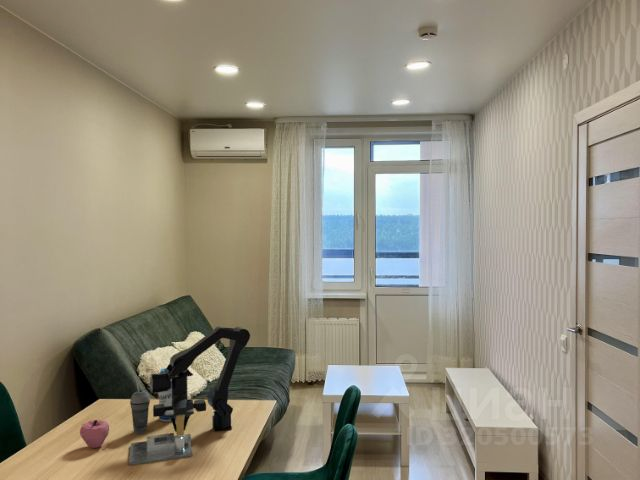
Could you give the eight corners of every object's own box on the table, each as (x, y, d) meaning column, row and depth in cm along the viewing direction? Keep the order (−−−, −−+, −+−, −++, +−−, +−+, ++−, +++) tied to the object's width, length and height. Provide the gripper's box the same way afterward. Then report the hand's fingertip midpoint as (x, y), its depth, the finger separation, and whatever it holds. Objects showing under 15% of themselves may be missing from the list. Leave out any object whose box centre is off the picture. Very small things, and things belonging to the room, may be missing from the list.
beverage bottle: (184, 417, 205) (184, 368, 205) (168, 423, 198) (167, 373, 198) (170, 413, 210) (170, 365, 210) (154, 419, 203) (153, 370, 203)
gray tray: (189, 438, 183) (188, 421, 183) (192, 456, 168) (192, 438, 168) (130, 446, 177) (130, 429, 177) (129, 465, 162) (128, 446, 161)
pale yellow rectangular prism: (183, 434, 187) (183, 413, 187) (183, 437, 184) (183, 415, 184) (176, 435, 186) (176, 414, 186) (176, 438, 183) (176, 416, 183)
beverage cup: (143, 436, 186) (143, 382, 186) (126, 434, 187) (125, 381, 187) (154, 428, 193) (153, 377, 193) (137, 427, 194) (136, 376, 194)
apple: (114, 443, 179) (114, 415, 179) (96, 453, 171) (96, 424, 171) (93, 440, 182) (93, 412, 182) (74, 449, 174) (74, 421, 174)
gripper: (153, 398, 174) (153, 442, 174) (207, 392, 180) (208, 435, 180) (152, 389, 185) (153, 431, 185) (204, 384, 191) (204, 424, 191)
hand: (180, 430), depth 185 cm, fingers closed on pale yellow rectangular prism, 3 cm apart
